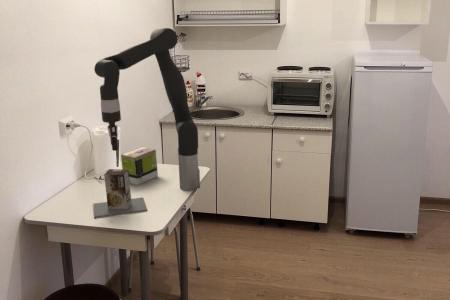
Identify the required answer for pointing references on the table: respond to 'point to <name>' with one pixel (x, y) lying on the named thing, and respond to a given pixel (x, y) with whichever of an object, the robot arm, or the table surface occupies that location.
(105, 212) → the mat
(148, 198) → the table surface
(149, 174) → the tea box
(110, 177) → the coffee box
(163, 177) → the table surface
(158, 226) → the table surface
